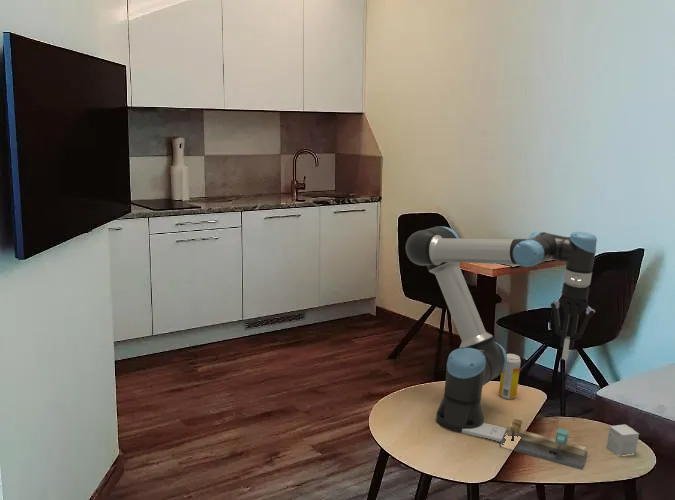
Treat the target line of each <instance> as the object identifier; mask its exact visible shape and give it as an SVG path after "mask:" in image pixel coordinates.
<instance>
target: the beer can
mask: <svg viewBox="0 0 675 500" xmlns="http://www.w3.org/2000/svg"><path fill="white" fill-rule="evenodd" d="M506 354H507V365H506V368H505V370H504V371H503V372H502V373H501V374H500V380H499V386H498V387H499V388H498V394H499V396H500V397H501V398H503V399H505V400H513V398H514V399H515V398H516V397H517V392H518V386H519V378H520V377H519V376H520V370H521V362H522V360H521V357H520V356H519V355H517V354H515V353H506Z"/></svg>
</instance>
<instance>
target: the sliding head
mask: <svg viewBox="0 0 675 500" xmlns="http://www.w3.org/2000/svg"><path fill="white" fill-rule="evenodd" d="M569 431H570V430H568V429H564V428H560V427H558V428H557V431H556V436H555V439H556V442H557V443H559V445H558V451H557V453H560V448H561V444H565V445H566V443H567V442H568V438H569V433H570V432H569Z"/></svg>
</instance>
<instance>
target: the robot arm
mask: <svg viewBox="0 0 675 500" xmlns="http://www.w3.org/2000/svg"><path fill="white" fill-rule="evenodd" d="M597 240H598V239H597V236H596V235H595V234H593V233H590V232H585V231H573V232H571V234H570V236H569V237H568V236H562V235H559V234H558V235H557V234H554V233H553V234H552V233H549V232H545V231H533V232H532V233H531V234H530V235H529V237H528V238H460V237H459V235H458V234H457V232H456V231H455V230H454V229H452V228H450V227H447V226H434V227H430V228H426V229H423V230H421V229H420V230H418V231H415V232H413V233H412V234H411V235H410V236H409V237H408V238H407V240H406V243H405V252H406V255H407V257H408V259H409V260H410V262H412V263H414V265H417V266H424V267H425V266H426V267H427V270H428V272H429V273H431V274H433V275H435V277H436V280H437V283H438V285H439V287H440V290H441V293H442V295H443V298H444V300H445V303H446V305H447V308H448V311H449V313H450V315H451V317H452V320H453V323H454V325H455V328H456V330H457V333H458V335H459V338H460V339H461V343H460V345H459V348H455V349H454V350H452V351H451V352H450V353H449V355H448V358H447V362H446V372H445V384H444V390H443V391H444V393H443V398H442V400H441V402H440V404H439V406H438V408H437V410H436V415H435V420H436V421H435V422H437V424H438V425H439V426H440V427H442V428H444V429H445V430H448V431H451V432H455V433H460V434H463V433H462V429H473V428H477V427H480V426H481V425H482V424H483V423H485V416H484V413H483V408H482V404H481V403H482V392H483V387H484V386H485V385H486V384H488V383H489V382H491V381H492V380H494V379H497V378H498V377H499V376H501V373H502V372H503V371H504V370H505V368H506V365H507V354H508V353H507V351H506V350H505V348H504V347H503V346H502V345H501V344H499V343H498V342H497V341H495V338H494V336H493V335H492V334H491V333H490V332H488V331H486V329H485V327H484V324H483V322H482V319H481V317H480V314H479V311H478V309H477V306H476V304H475V301H474V299H473V296H472V294H471V291H470V290H469V287H468V285H467V282H466V280H465V277H464V275H463V272H462V270H461V267H460V263H461V264H462V263H463V264H468V263H469V264H495V265H496V264H498V265H499V264H501V265H517V266H518V265H519V266H520V267H523V268H528V267H529V268H530V267H535V266H537V265H538V264H541V263H544V262H547V261H548V260H549V261H550V260H553V261H558V262H564V263H566V264H565V268H564V269H565V270H564V271H565V272H564V277H563V281H564V282H563V284H562V289H561V296H560V298H559V299H558V300H556V301H552V302H551V303H550V307H551V309H552V313H553V320H554V322H553V323H554V331H555V332H554V333H555V334H556V335H557V336H559V337H560V342H559V347H560V348H563V349H562V354H561V360H564V361H567V360H568V358H569V354H570V351H571V350H572V351H573V348H574V345H575V340H581V338H582V336H583V334H584V332H585V329H586V327H587V325H588V323H589V322H590V318H592V317H593V316H594V314H595V313H596V310H595V309H594V308H592V307H590V306H589V305H590V304H589V301H588V299H589V295H590V287H589V286H590V285H591V282H592V276H593V267H594V262H595V256H596V252H597ZM560 307H561V309H562V311H563V312H564V316H563V323H562V329H561V319H560V311H559V310H560V309H559V308H560ZM583 312H585V314H586V316H585V318H584V320H583V322H582V324H581V326H580V328H579V330H578V332H577V328H578V321H579V316H580V315H581V314H582V313H583ZM570 315H573V316H572V323H571V329H570V336H568V335H567V334H568V327H569V323H570Z"/></svg>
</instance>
